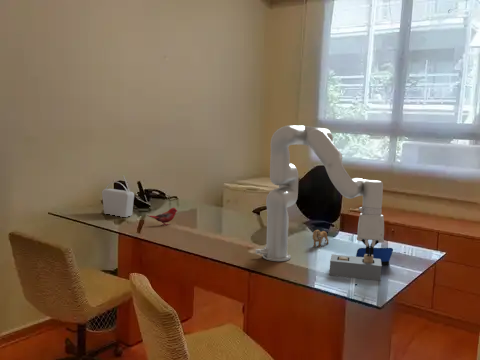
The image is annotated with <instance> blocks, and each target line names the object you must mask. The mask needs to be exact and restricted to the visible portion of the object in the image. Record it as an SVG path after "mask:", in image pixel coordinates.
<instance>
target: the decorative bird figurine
mask: <svg viewBox="0 0 480 360" xmlns="http://www.w3.org/2000/svg"><path fill="white" fill-rule="evenodd" d="M177 212H178V210H177V208H176V207H171V208H170V209H168V210H166V211H165V212H162V213H159V214H157V215H147V216H146V217H149V218H152V219H155V220H156V221H157V222H160V223H162V224H161V226H169V225H171V223H169V222H171V221H172V220H173V219H174V217H175V215H176V213H177Z"/></svg>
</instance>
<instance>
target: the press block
mask: <svg viewBox="0 0 480 360" xmlns="http://www.w3.org/2000/svg"><path fill="white" fill-rule="evenodd" d="M339 257H346V258H348V261H344V260H339ZM382 266H383V265H381V259H376V258H373V263H365V262H364V257H356V255H355V256H354V255H345V254H344V255H343V254H331V256H330V260H329V276H333V277H341V278H353V279H361V280H372V281H381V280H382Z"/></svg>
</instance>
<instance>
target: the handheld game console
mask: <svg viewBox="0 0 480 360" xmlns="http://www.w3.org/2000/svg"><path fill="white" fill-rule="evenodd" d="M393 252H394V248H393V247H374V251H373V254H372V255H373V258H376V259H381V265H382V266H389V265H390V260H391V257H392V254H393ZM365 254H366V247H359V248H358V249H357V251H356V255H355V257H364V255H365ZM369 254H370V251H369Z"/></svg>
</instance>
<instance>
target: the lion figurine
mask: <svg viewBox="0 0 480 360" xmlns="http://www.w3.org/2000/svg"><path fill="white" fill-rule="evenodd" d="M323 239H325V240H324V242H325V244H326V245H329V239H328V233H327V231H325V230H322V231H321V230H320V229H315V230H314V231H313V232H312V240H313V245H312V247H314V246H315V247H316V246H317V244H316V243H317V242H318V246H317V247H318V248H321V245H322V242H323Z"/></svg>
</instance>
